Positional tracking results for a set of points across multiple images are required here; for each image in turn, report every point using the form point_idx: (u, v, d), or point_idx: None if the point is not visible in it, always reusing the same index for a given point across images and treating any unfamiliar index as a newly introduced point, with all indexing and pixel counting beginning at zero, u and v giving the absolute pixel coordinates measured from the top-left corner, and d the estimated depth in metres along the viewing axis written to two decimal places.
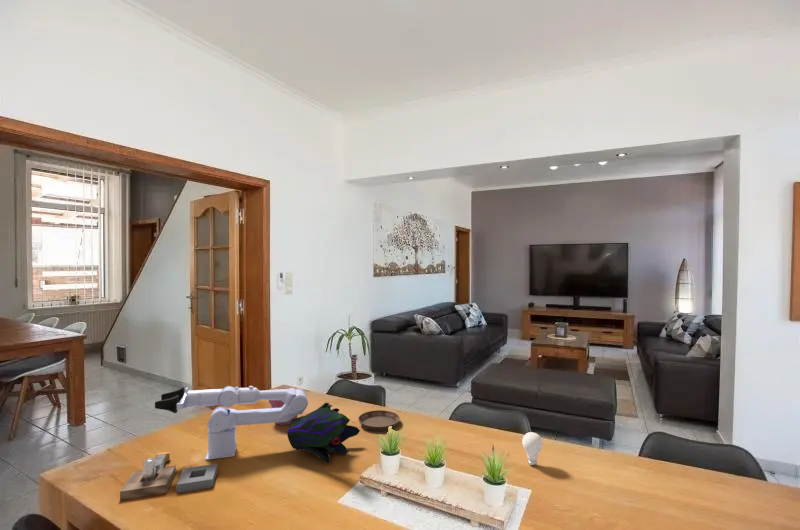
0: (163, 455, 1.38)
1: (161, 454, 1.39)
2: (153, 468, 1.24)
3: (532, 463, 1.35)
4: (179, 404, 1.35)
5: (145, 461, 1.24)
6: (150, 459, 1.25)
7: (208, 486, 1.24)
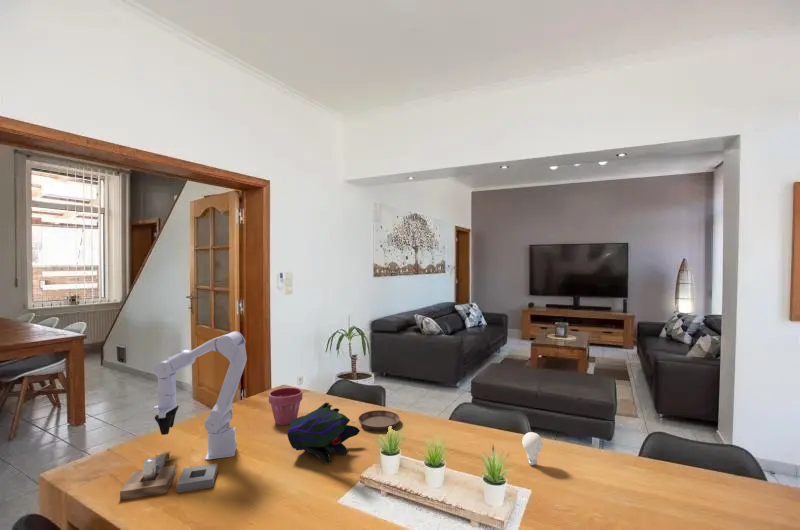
0: (163, 455, 1.38)
1: (161, 454, 1.39)
2: (153, 468, 1.24)
3: (532, 463, 1.35)
4: (159, 415, 1.39)
5: (145, 461, 1.24)
6: (150, 459, 1.25)
7: (208, 486, 1.24)
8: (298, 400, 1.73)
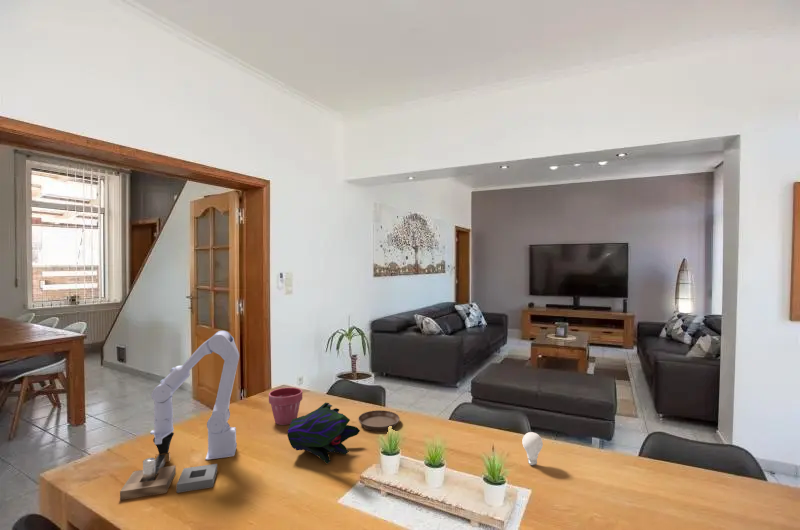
0: (162, 456, 1.38)
1: (160, 455, 1.39)
2: (153, 468, 1.24)
3: (532, 463, 1.35)
4: (155, 442, 1.34)
5: (145, 461, 1.24)
6: (150, 459, 1.25)
7: (208, 486, 1.24)
8: (298, 400, 1.73)
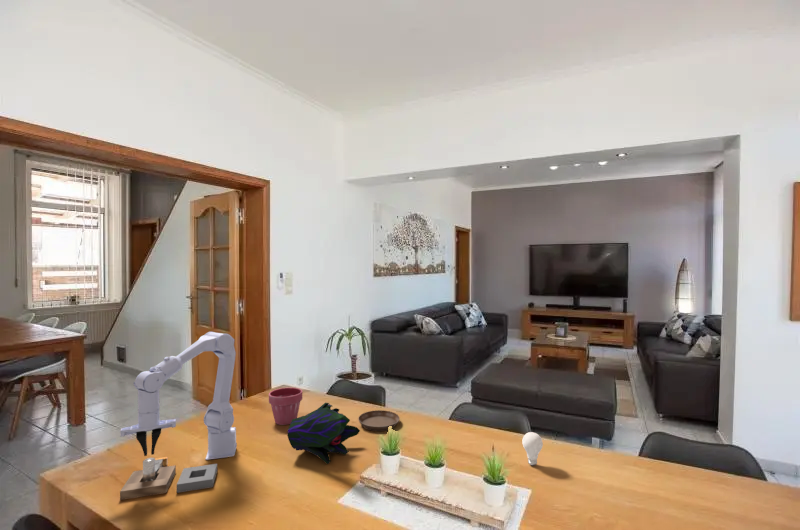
0: (160, 461, 1.35)
1: (158, 459, 1.35)
2: (153, 468, 1.24)
3: (532, 463, 1.35)
4: None
5: (145, 461, 1.24)
6: (150, 459, 1.25)
7: (208, 486, 1.24)
8: (298, 400, 1.73)
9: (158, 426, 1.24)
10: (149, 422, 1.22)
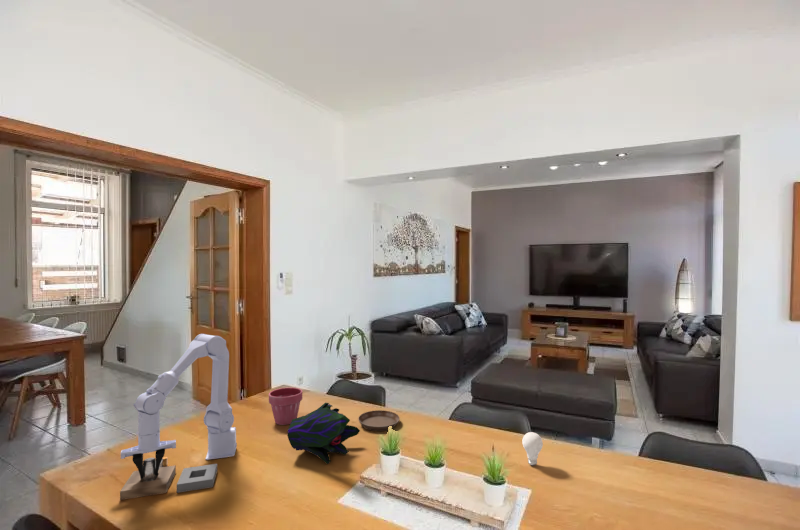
0: None
1: None
2: (153, 468, 1.24)
3: (532, 463, 1.35)
4: None
5: (145, 461, 1.24)
6: (150, 459, 1.25)
7: (208, 486, 1.24)
8: (298, 400, 1.73)
9: (158, 448, 1.24)
10: (149, 444, 1.22)
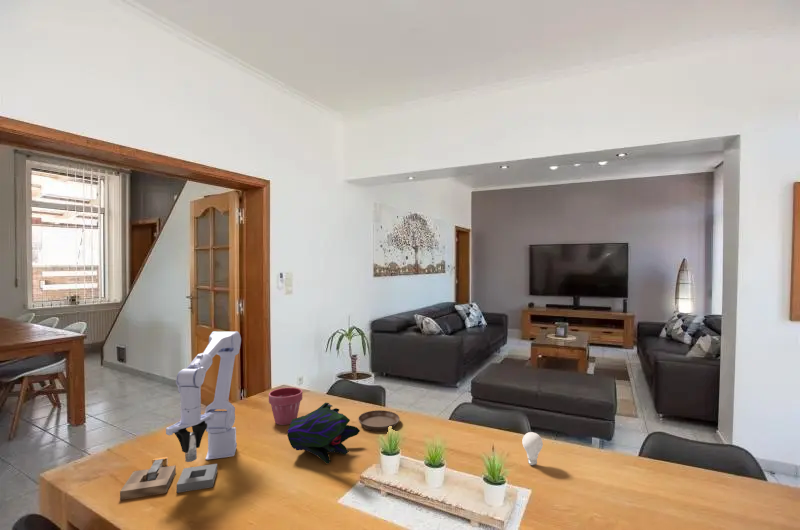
0: (160, 461, 1.35)
1: (158, 459, 1.35)
2: None
3: (532, 463, 1.35)
4: (166, 431, 1.21)
5: None
6: (190, 433, 1.27)
7: (208, 486, 1.24)
8: (298, 400, 1.73)
9: (202, 420, 1.28)
10: (196, 416, 1.26)
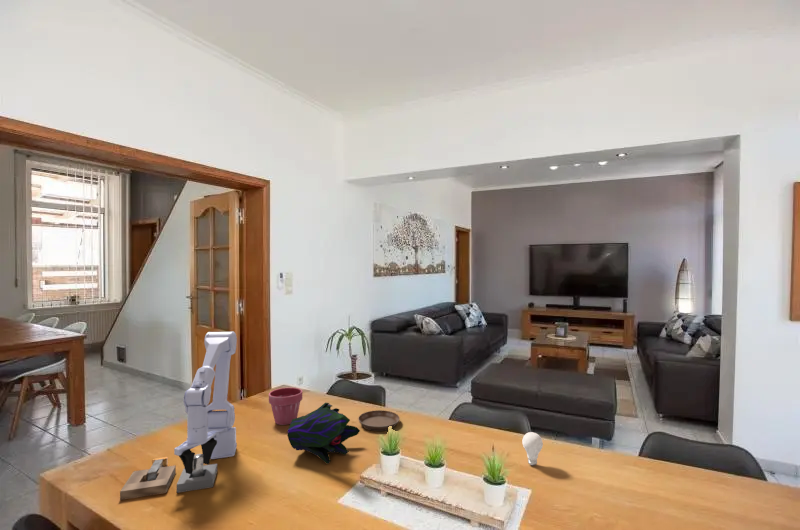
0: (160, 461, 1.35)
1: (158, 459, 1.35)
2: None
3: (532, 463, 1.35)
4: (175, 451, 1.21)
5: (196, 457, 1.26)
6: (197, 455, 1.28)
7: (208, 486, 1.24)
8: (298, 400, 1.73)
9: (209, 438, 1.28)
10: (204, 435, 1.26)
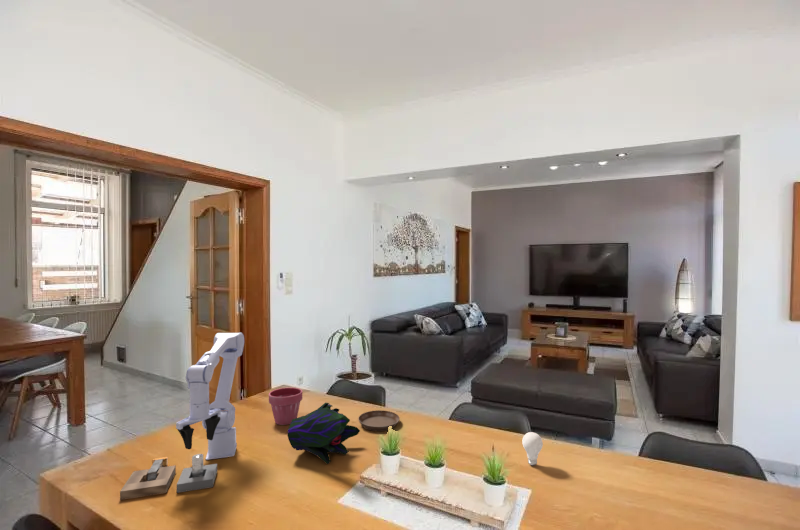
0: (160, 461, 1.35)
1: (158, 459, 1.35)
2: None
3: (532, 463, 1.35)
4: (176, 426, 1.25)
5: (196, 457, 1.26)
6: (197, 455, 1.28)
7: (208, 486, 1.24)
8: (298, 400, 1.73)
9: (211, 415, 1.32)
10: (205, 411, 1.30)
